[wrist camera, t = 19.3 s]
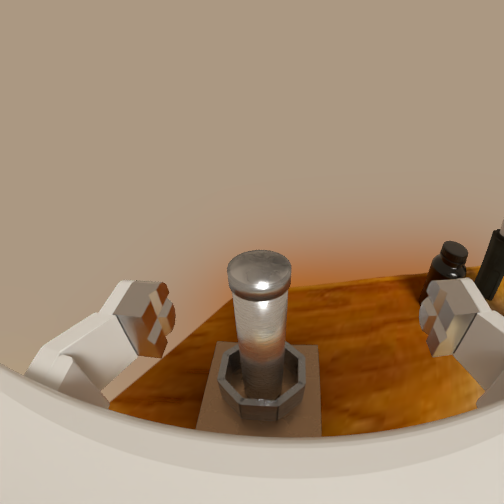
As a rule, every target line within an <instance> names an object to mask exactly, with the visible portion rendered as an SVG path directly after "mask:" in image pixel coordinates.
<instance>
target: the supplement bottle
mask: <svg viewBox="0 0 504 504" xmlns="http://www.w3.org/2000/svg"><path fill="white" fill-rule="evenodd" d="M467 256H468V251H467V249H466V248H465V247H464V246H463V245H461V244H459V243H457V242H453V241H446V242H444V244H443V247H442V250H441V252H440V254H439V255H437V256H436V257H435V258H434V259H433V261H432V263H431V266H430V269H429V272H428V275H427V278H426V281H425V284H424V287H423V289H422V292H421V295H420V303H421V304H422V302H423V301H424V300H425V299H426V298H427V297H428V294H427V288H428V285H429V284H430V282H431V281H435V280H451V279H460V278H465V276H466V267H465V263H466V259H467Z"/></svg>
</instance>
